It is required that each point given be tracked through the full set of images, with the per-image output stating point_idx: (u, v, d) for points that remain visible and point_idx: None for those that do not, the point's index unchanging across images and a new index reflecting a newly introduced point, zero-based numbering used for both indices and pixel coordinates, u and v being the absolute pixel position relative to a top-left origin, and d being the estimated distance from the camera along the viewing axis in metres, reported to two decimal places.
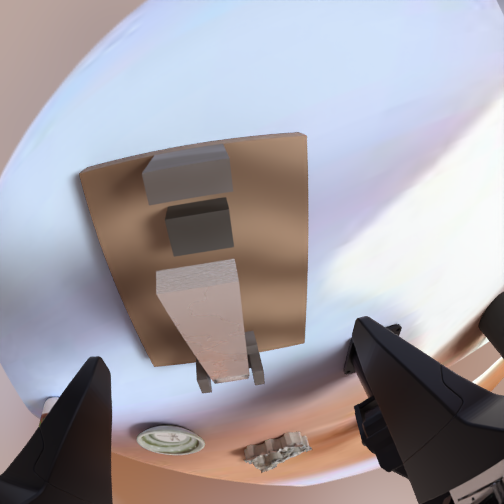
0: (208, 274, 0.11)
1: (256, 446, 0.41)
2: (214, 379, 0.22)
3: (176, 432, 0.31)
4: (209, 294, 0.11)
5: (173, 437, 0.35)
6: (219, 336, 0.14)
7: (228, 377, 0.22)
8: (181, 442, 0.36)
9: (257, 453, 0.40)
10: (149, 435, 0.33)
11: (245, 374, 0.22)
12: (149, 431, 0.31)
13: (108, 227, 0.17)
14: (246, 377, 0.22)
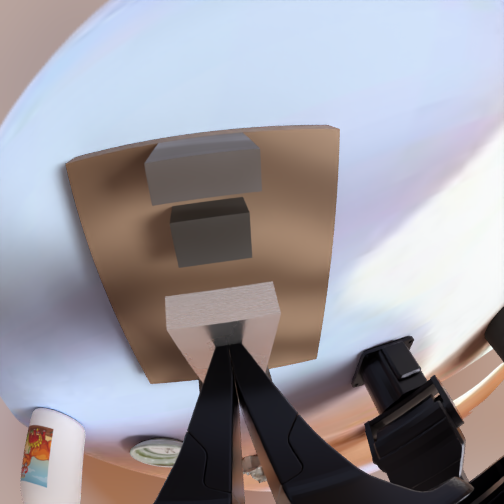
0: (238, 303, 0.08)
1: (254, 457, 0.38)
2: None
3: (172, 446, 0.28)
4: (238, 329, 0.08)
5: (168, 450, 0.32)
6: None
7: None
8: (176, 454, 0.33)
9: (255, 464, 0.37)
10: (143, 447, 0.30)
11: None
12: (143, 445, 0.28)
13: (99, 229, 0.14)
14: None
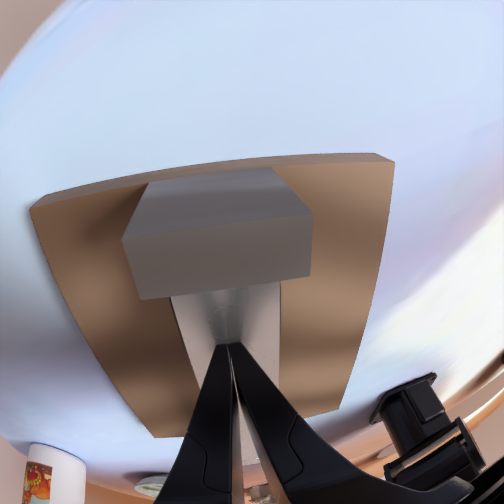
0: None
1: (262, 486, 0.34)
2: None
3: None
4: (239, 293, 0.08)
5: None
6: None
7: (249, 458, 0.15)
8: None
9: (263, 494, 0.33)
10: None
11: None
12: (148, 483, 0.24)
13: (80, 291, 0.11)
14: None
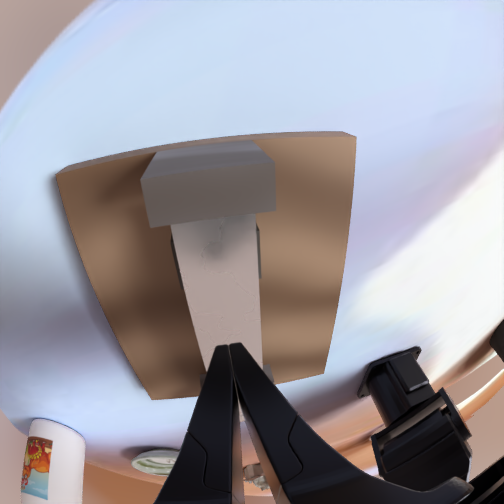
0: None
1: (256, 466, 0.37)
2: None
3: (174, 458, 0.27)
4: (224, 230, 0.10)
5: (170, 460, 0.30)
6: (232, 319, 0.13)
7: None
8: None
9: (257, 473, 0.36)
10: None
11: None
12: (145, 456, 0.26)
13: (94, 245, 0.13)
14: None
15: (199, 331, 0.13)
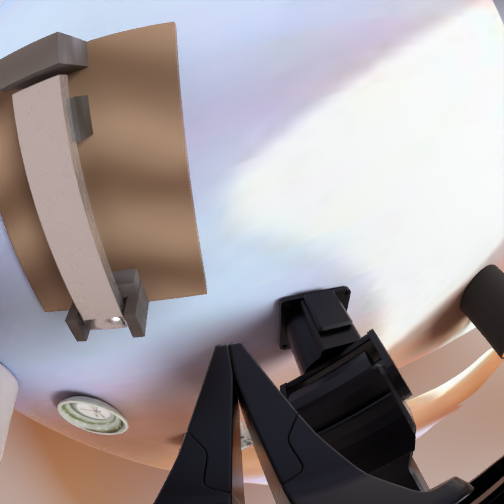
0: None
1: None
2: (84, 317, 0.17)
3: (91, 403, 0.26)
4: (41, 92, 0.09)
5: (96, 412, 0.29)
6: (53, 175, 0.12)
7: (99, 318, 0.17)
8: (107, 419, 0.31)
9: None
10: (71, 407, 0.28)
11: (117, 314, 0.17)
12: (65, 400, 0.25)
13: None
14: (120, 321, 0.17)
15: (33, 190, 0.12)
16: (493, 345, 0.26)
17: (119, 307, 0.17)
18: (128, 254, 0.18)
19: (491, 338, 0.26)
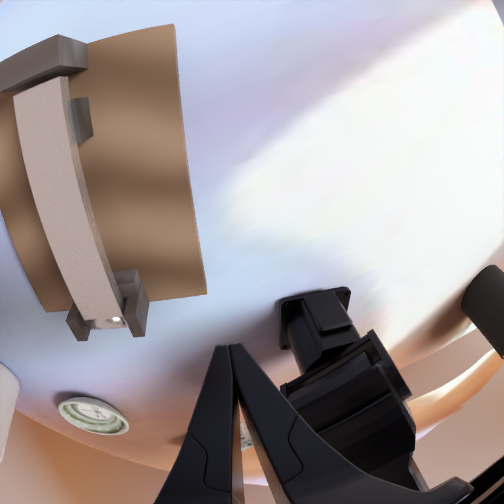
0: None
1: None
2: (85, 317, 0.17)
3: (92, 404, 0.26)
4: (41, 94, 0.10)
5: (97, 413, 0.30)
6: (54, 176, 0.12)
7: (100, 318, 0.17)
8: (108, 420, 0.31)
9: None
10: (72, 408, 0.28)
11: (117, 314, 0.17)
12: (66, 401, 0.26)
13: None
14: (120, 321, 0.17)
15: (34, 191, 0.12)
16: (494, 345, 0.26)
17: (119, 307, 0.17)
18: (128, 254, 0.18)
19: (492, 338, 0.26)
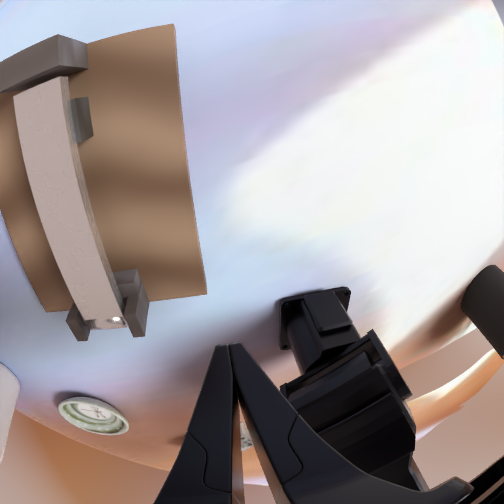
0: None
1: None
2: (85, 317, 0.17)
3: (91, 404, 0.26)
4: (41, 94, 0.10)
5: (97, 413, 0.30)
6: (54, 176, 0.12)
7: (100, 318, 0.17)
8: (108, 420, 0.31)
9: None
10: (72, 408, 0.28)
11: (117, 314, 0.17)
12: (66, 400, 0.26)
13: None
14: (120, 321, 0.17)
15: (34, 191, 0.12)
16: (494, 345, 0.26)
17: (119, 307, 0.17)
18: (128, 254, 0.18)
19: (492, 338, 0.26)
